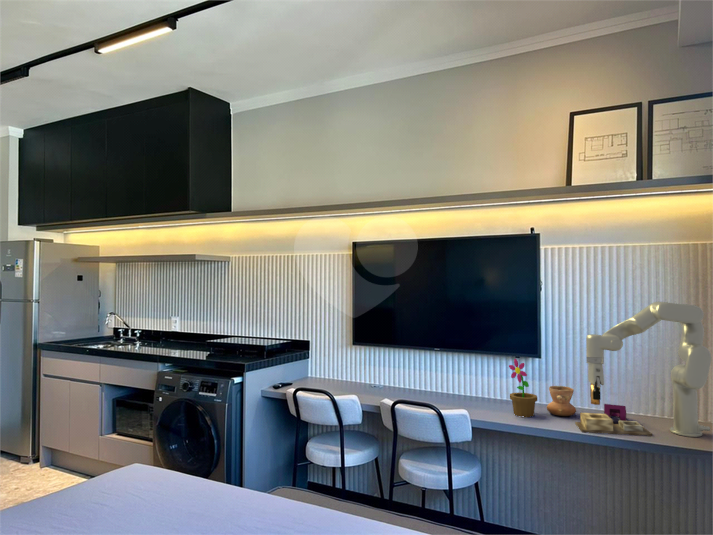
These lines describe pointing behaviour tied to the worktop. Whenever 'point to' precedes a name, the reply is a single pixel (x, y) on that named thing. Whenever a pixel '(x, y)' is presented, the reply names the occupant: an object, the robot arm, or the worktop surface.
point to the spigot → (595, 402)
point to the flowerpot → (522, 394)
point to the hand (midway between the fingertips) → (595, 398)
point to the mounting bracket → (615, 411)
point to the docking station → (609, 425)
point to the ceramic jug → (561, 401)
